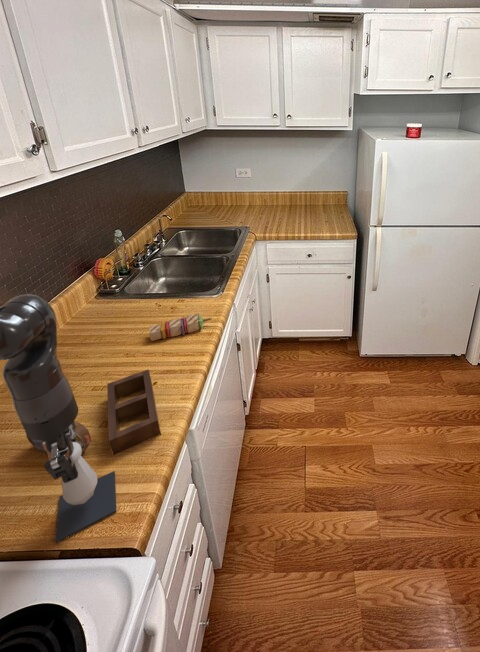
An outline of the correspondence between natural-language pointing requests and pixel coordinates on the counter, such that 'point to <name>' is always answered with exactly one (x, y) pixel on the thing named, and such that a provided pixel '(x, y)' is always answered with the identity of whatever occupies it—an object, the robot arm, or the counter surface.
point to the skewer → (177, 327)
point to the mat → (87, 508)
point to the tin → (81, 438)
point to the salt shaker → (79, 480)
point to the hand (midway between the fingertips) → (72, 467)
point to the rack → (131, 412)
